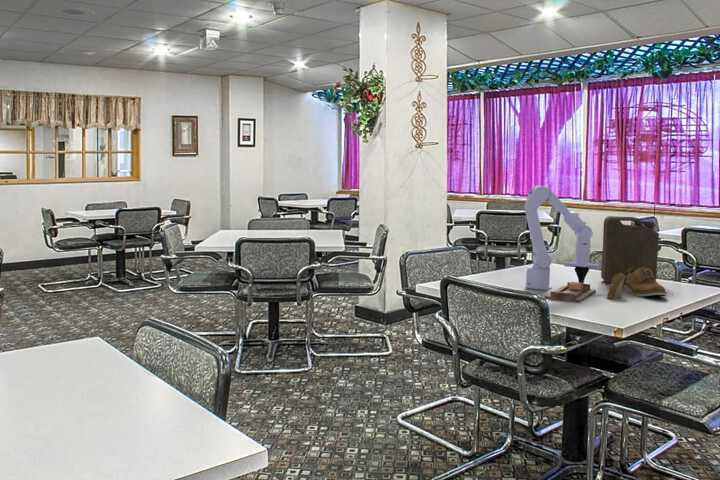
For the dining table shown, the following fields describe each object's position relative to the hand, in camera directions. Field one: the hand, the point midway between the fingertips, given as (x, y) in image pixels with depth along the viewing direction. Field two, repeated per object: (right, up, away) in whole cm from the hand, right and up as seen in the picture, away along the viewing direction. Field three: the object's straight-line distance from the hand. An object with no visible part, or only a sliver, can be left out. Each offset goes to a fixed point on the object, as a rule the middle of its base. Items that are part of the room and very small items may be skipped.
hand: (581, 284), depth 286 cm
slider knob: (-5, -1, -7) cm, 9 cm away
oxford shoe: (+23, -4, -9) cm, 25 cm away
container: (+26, -1, +16) cm, 31 cm away
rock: (+7, -4, -17) cm, 18 cm away
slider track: (-9, -3, -14) cm, 17 cm away
